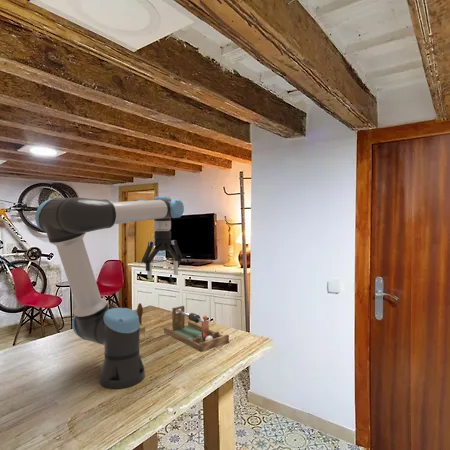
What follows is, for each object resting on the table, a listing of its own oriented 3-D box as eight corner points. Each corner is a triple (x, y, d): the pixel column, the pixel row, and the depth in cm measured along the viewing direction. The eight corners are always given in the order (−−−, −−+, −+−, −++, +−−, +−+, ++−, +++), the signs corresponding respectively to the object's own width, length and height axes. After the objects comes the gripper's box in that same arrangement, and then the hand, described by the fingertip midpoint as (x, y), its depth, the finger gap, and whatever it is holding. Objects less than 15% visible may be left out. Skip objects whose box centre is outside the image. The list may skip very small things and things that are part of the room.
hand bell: (151, 334, 159) (150, 301, 159) (145, 341, 151) (145, 306, 151) (134, 334, 160) (134, 301, 160) (127, 340, 152) (127, 305, 152)
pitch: (201, 354, 136) (200, 325, 136) (164, 334, 159) (163, 309, 159) (228, 345, 146) (228, 318, 146) (190, 327, 169) (190, 304, 169)
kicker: (203, 342, 145) (203, 317, 145) (171, 326, 166) (170, 304, 165) (209, 340, 147) (209, 315, 147) (176, 325, 168) (176, 303, 167)
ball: (202, 339, 145) (206, 346, 143) (205, 335, 143) (209, 342, 141) (208, 337, 148) (212, 344, 146) (212, 333, 146) (215, 340, 144)
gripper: (141, 231, 142) (141, 281, 143) (189, 229, 158) (190, 274, 159) (133, 230, 148) (134, 278, 149) (181, 229, 164) (181, 272, 165)
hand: (163, 276), depth 154 cm, fingers open, 13 cm apart
